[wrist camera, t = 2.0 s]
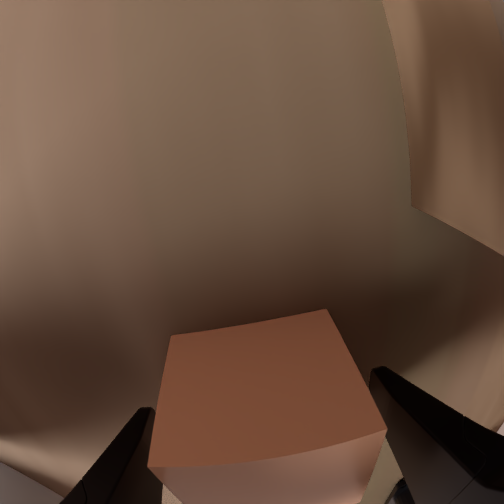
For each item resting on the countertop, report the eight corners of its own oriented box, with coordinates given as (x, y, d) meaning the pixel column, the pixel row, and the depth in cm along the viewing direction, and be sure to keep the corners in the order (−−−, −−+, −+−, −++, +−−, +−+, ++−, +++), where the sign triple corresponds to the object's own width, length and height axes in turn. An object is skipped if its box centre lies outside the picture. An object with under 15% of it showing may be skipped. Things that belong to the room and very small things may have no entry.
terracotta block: (326, 403, 11) (360, 501, 6) (208, 423, 10) (209, 526, 6) (325, 307, 9) (387, 428, 5) (171, 334, 9) (147, 467, 5)
